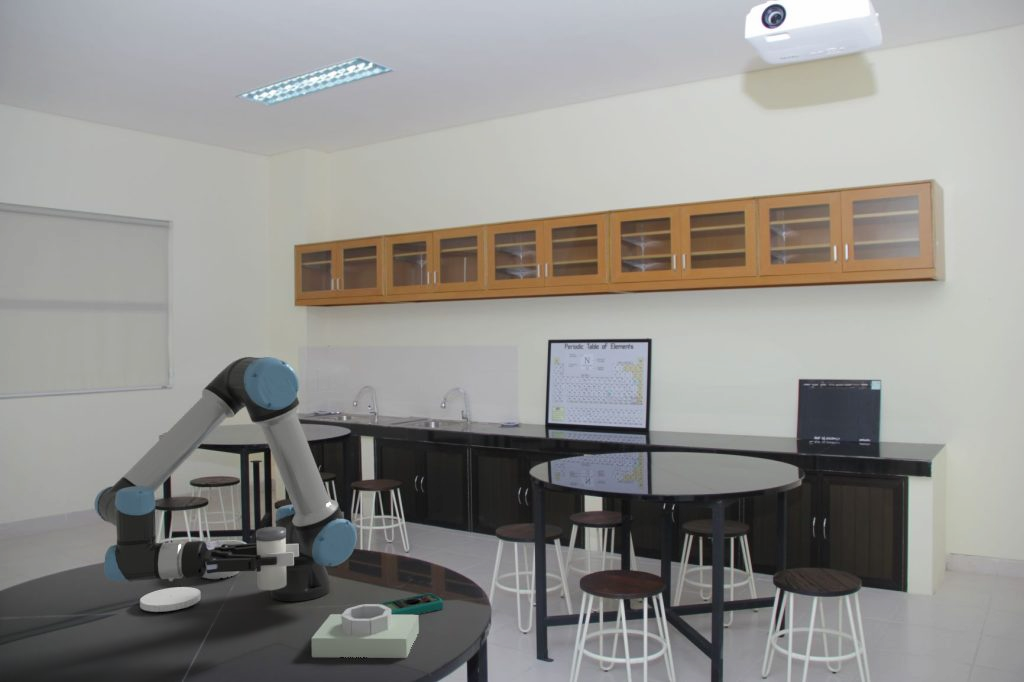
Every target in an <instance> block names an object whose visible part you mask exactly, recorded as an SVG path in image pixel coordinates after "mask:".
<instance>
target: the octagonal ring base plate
mask: <svg viewBox="0 0 1024 682" xmlns="http://www.w3.org/2000/svg"><path fill="white" fill-rule="evenodd" d="M419 615H420V614H418V615H391V609H390V608H388V607H386V606H384V605H381V604H380V603H377V604H375V603H371V604H370V603H368V604H367V603H366V604H365V603H364V604H359V605H355V606H352V607H348V608H346V609H345V610H344V611H343V612H342V613H341V614H340V613H336V614H335V613H332V614H329V616H328V617H327V618H326V619H325V620H324V622H323V623H322V624H321V626H320V627H319V628H318V630H317V631H316V632H315V633H314V634H313V635H312V637H311V658H340V657H344V658H345V657H346V658H348V657H349V659H351V658H352V657H353V658H355V659H356V657H357V658H358V657H359V658H360V657H361V658H363V657H365V658H366V657H367V658H368V659H376V658H377V659H380V658H382V659H407V658H408V656H409V654H410V652H411V650H412V648H411V647H413V646H414V644H413V643H415V642H416V639H417V637H418V635H419V634H420V624H419V622H420V619H419ZM417 634H418V635H417ZM414 641H415V642H414ZM412 645H413V646H412ZM410 649H411V650H410ZM350 657H351V658H350ZM346 658H345V659H346ZM359 658H358V659H359ZM365 658H364V659H365ZM367 658H366V659H367Z"/></svg>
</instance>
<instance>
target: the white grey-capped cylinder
mask: <svg viewBox="0 0 1024 682" xmlns="http://www.w3.org/2000/svg"><path fill="white" fill-rule="evenodd" d="M255 540H256V543H257V555H260V556H261V554H262V553H282V552H286V528H284V527H276V526H266V527H262V528H261V527H260V528H258V529H257V530H256V531H255ZM261 557H262V556H261ZM256 572H257V571H256ZM256 574H257V576H256V577H257V581H256V582H257V589H258V590H261V591H271V590H276V589H280V588H283V587H285V586H286V585H287V578H286V566H276V567H262V566H261V571H260V572H257V573H256Z"/></svg>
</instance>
